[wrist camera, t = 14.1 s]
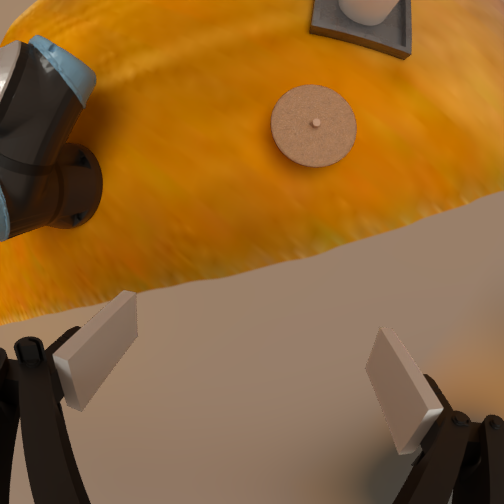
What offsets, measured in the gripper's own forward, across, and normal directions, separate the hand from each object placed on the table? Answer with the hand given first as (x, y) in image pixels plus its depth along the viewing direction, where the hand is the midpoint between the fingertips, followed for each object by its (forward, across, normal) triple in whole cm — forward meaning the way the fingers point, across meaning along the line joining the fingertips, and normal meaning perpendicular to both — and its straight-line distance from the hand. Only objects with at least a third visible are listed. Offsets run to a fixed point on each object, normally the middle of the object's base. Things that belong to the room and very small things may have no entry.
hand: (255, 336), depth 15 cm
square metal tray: (+31, +11, +40) cm, 52 cm away
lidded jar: (+31, +4, +15) cm, 35 cm away
